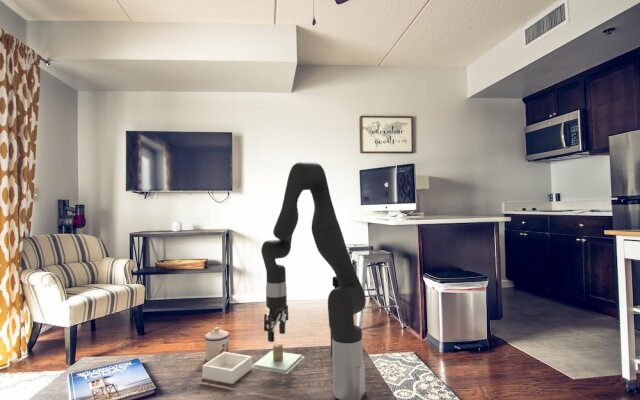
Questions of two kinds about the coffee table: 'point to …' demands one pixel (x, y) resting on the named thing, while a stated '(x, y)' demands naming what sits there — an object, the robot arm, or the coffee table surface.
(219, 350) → the teacup with lid
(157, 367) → the coffee table surface
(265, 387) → the coffee table surface
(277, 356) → the lid
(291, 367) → the mat
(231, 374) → the dish
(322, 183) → the robot arm
